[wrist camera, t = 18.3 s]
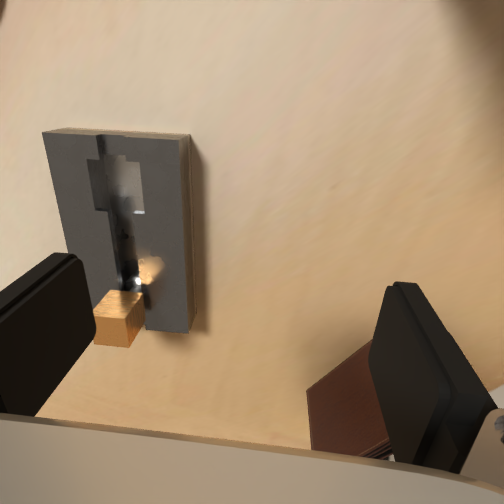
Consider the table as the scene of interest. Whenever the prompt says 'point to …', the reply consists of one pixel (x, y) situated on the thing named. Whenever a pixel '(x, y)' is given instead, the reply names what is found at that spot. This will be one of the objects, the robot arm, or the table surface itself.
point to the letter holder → (348, 411)
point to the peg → (120, 315)
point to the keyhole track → (129, 215)
